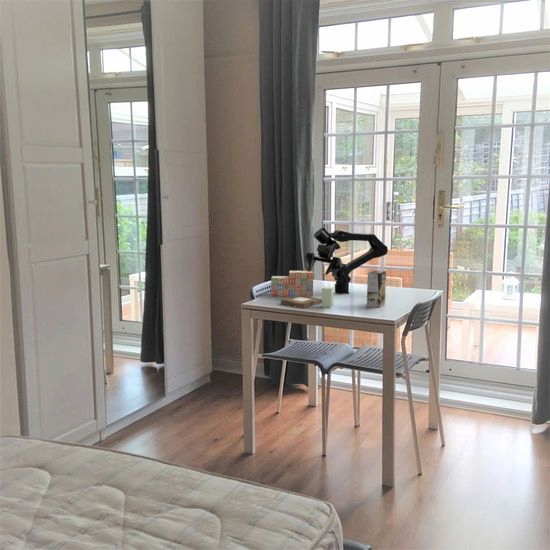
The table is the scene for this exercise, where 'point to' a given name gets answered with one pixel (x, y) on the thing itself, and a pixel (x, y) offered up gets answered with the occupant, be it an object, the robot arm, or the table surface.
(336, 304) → the table surface
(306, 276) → the stack of blocks
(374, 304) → the coffee box
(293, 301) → the base board
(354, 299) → the table surface
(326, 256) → the robot arm
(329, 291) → the pillar block
